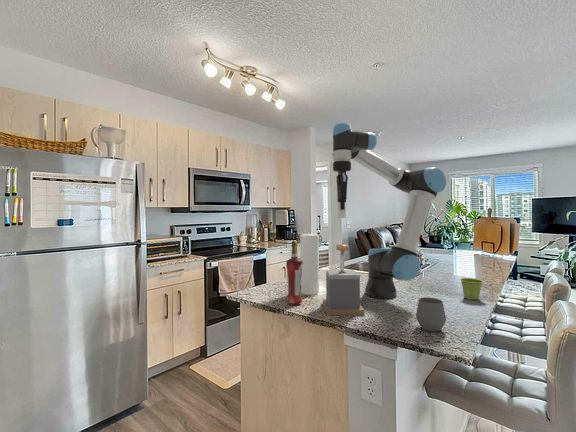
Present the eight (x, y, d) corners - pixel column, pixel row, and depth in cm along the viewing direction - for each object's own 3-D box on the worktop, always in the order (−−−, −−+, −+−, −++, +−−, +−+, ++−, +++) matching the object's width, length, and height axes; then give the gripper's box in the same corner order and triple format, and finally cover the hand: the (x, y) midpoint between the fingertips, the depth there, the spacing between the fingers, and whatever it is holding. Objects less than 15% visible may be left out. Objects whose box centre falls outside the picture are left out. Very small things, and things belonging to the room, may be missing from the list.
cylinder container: (318, 290, 159) (318, 233, 159) (318, 295, 150) (318, 234, 150) (300, 290, 160) (300, 233, 160) (299, 294, 151) (299, 234, 151)
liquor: (291, 300, 141) (290, 240, 141) (305, 302, 138) (305, 240, 137) (283, 304, 134) (283, 241, 134) (298, 306, 131) (298, 242, 131)
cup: (416, 331, 103) (416, 302, 103) (415, 322, 112) (415, 295, 112) (447, 335, 100) (447, 305, 100) (444, 326, 108) (444, 298, 108)
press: (356, 303, 135) (356, 269, 135) (364, 314, 120) (364, 276, 120) (322, 303, 135) (322, 269, 135) (326, 315, 120) (326, 276, 120)
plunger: (350, 280, 132) (350, 244, 132) (354, 285, 123) (354, 246, 123) (330, 280, 132) (330, 244, 132) (333, 285, 124) (333, 246, 123)
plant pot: (485, 298, 144) (485, 280, 144) (480, 302, 137) (480, 283, 137) (462, 294, 150) (462, 277, 150) (457, 298, 143) (457, 280, 143)
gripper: (330, 164, 134) (330, 217, 134) (335, 158, 121) (335, 217, 121) (347, 164, 134) (347, 217, 134) (354, 158, 121) (354, 217, 121)
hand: (341, 217), depth 128 cm, fingers closed
